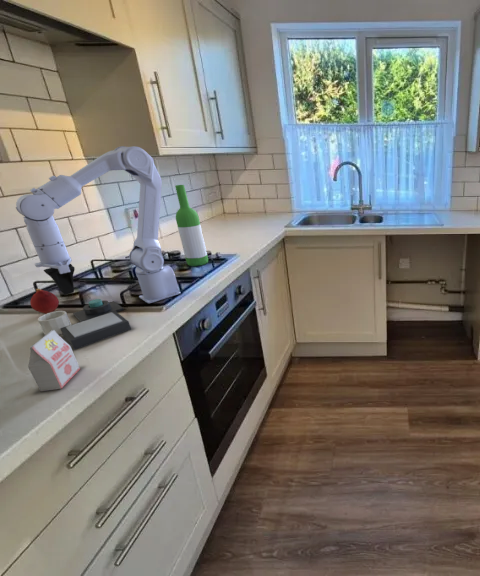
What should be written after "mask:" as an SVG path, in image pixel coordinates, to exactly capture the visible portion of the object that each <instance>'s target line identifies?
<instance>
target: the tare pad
mask: <svg viewBox="0 0 480 576" xmlns="http://www.w3.org/2000/svg"><path fill="white" fill-rule="evenodd" d="M102 303H103V305H101V306H98V307H94V308H90V306H89V303H87V304H85V305H84V306H83V307H82V309H83V310H79V311H76V312H73V314H72V315H73V316H74V317H75V318H76V319H77V320H78V321H79V322H82V321H85V320H88V319H91V318H94V317H98V316H101V315H104V314H107V313H110V312H113V311H116V312H117V313H119V312H122V311H124V310H125V309H124V307H122V305H120V304H119V303H117V302H116V301H114V300H113V301H108V300H102Z"/></svg>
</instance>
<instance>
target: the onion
mask: <svg viewBox="0 0 480 576" xmlns="http://www.w3.org/2000/svg"><path fill="white" fill-rule="evenodd" d="M35 291H36V292H35V293H33V295H32V296H31V298H30V301H29V303H30V306H31V308H32V310H34V311H35V312H37V313H38V312H39V313H42V314H44V315H45V314H47V313H51V312H55V311H56V309H57V308H58V307H59V304H60V301H59V298H58V297H57V296H56V295H55V294H54V293H53V292H51V291H48V290H45V289H42V288H41V289H40V288H36V289H35Z"/></svg>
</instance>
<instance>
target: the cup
mask: <svg viewBox="0 0 480 576" xmlns="http://www.w3.org/2000/svg"><path fill="white" fill-rule="evenodd" d="M36 320H37V322H38V324H39V326H40V328H41V331H42V333H43V335H44V336H45V335H46V334H48V333H49V332H50V331H53V330H55V332H56V333H57V334H58V335H59V336H60V335H63V334H62V332H61V329H60V328H63V327H66V326H69V325H72V322H71V320H70V318H69V316H68V313H67V311H66V310H54V311H53V312H51V313H47V314H45V313H44V314H42V315H40V316H39V317H38V318H37V319H36Z"/></svg>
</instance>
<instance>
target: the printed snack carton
mask: <svg viewBox="0 0 480 576" xmlns="http://www.w3.org/2000/svg"><path fill="white" fill-rule="evenodd" d="M29 352H30V353H29V360H28V365H27V368H28V369H29V370H28V371H29V372H30V373H31V375H32V378H33V380H34V381H35V383H36V386H37V388H38V389H39V392H46V391H47V392H48V391H52V390H53V391H54V390H62V389H63V388H64V387H65V386H66V384H68V382H70V380H71V379H73V377H74V376H75V375H76V374H77V373H78V372H79V371H80V370H81V367H80V365H79V362H78V360H77V358H76V356H75V353H74V351H73V349H72V346H71V345H70V344H69V342H68V341H66V340H65V339H63V338H62V337H61V336H60V335H58V334H57V333H56V332H55V330H53V331H50V332H49V333H48V334H46V335H44V336H43V337H41V338H40V339H39V340H37V341H36V342H35V343H34V344H32V345H31V346H30V347H29Z"/></svg>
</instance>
